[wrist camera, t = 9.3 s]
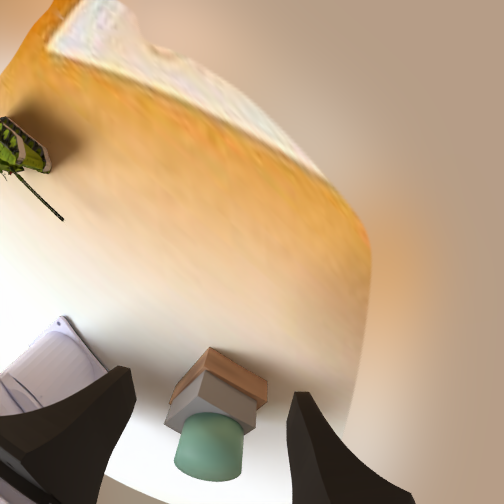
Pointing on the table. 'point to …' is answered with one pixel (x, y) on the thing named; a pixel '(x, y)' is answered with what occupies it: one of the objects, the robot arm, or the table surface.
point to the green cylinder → (210, 447)
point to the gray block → (212, 403)
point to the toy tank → (22, 154)
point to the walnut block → (225, 376)
